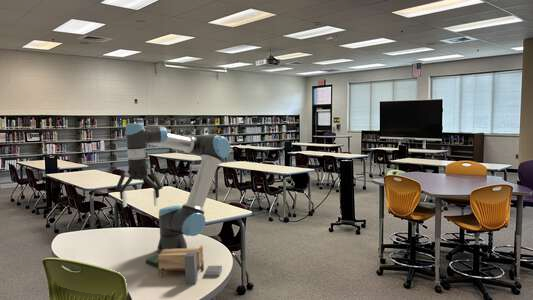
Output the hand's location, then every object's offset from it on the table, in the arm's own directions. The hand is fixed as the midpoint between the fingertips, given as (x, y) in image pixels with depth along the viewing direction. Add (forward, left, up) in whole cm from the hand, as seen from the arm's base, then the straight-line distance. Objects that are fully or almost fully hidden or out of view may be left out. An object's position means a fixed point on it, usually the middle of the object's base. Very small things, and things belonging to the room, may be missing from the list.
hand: (140, 205), depth 173 cm
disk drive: (-11, +5, -31) cm, 34 cm away
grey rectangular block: (+7, +24, -31) cm, 39 cm away
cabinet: (+2, +17, -31) cm, 35 cm away
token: (+3, +32, -31) cm, 45 cm away
